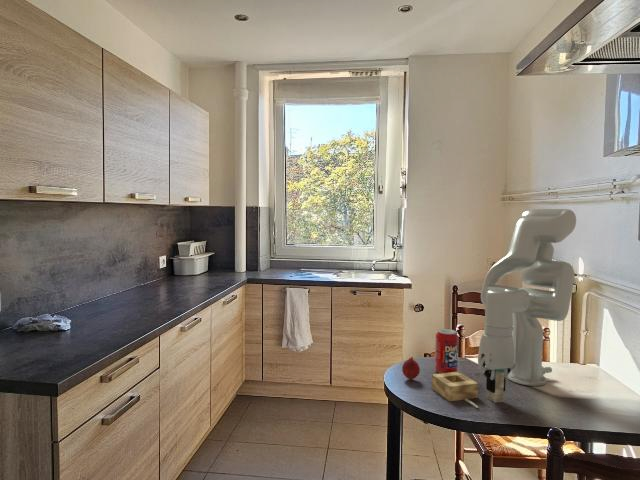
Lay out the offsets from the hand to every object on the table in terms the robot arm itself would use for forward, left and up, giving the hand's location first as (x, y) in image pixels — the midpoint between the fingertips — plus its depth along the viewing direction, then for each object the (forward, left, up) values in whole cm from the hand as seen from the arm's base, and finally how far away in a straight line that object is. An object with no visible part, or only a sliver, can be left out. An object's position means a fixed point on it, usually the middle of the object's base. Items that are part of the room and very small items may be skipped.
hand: (495, 389), depth 126 cm
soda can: (+1, -24, -3) cm, 24 cm away
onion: (+17, -21, -3) cm, 27 cm away
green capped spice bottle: (0, 0, -3) cm, 3 cm away
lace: (+9, +1, -3) cm, 10 cm away
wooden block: (+9, -8, -3) cm, 13 cm away
